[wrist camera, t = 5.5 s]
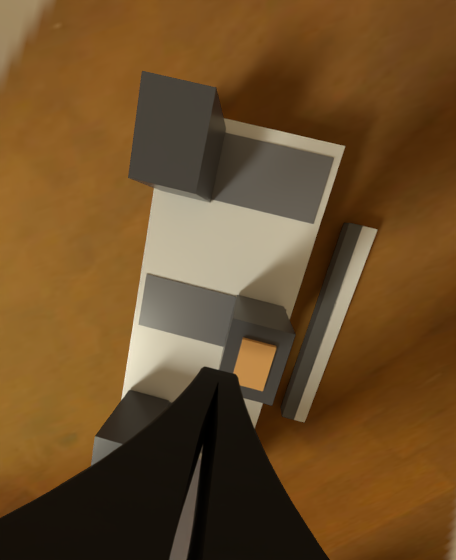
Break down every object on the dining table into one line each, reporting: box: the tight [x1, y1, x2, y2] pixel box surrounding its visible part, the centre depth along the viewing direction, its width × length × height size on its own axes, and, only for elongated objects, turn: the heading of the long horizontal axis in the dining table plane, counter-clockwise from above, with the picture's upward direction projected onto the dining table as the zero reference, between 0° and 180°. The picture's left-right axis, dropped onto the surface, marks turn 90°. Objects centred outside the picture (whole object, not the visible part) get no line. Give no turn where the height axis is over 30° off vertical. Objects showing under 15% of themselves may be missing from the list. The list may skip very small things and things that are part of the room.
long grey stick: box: [281, 223, 378, 423], centre depth 18 cm, size 16×2×1 cm, turn 167°
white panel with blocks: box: [91, 71, 345, 466], centre depth 16 cm, size 23×10×8 cm, turn 167°
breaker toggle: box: [218, 295, 296, 406], centre depth 13 cm, size 4×3×4 cm
